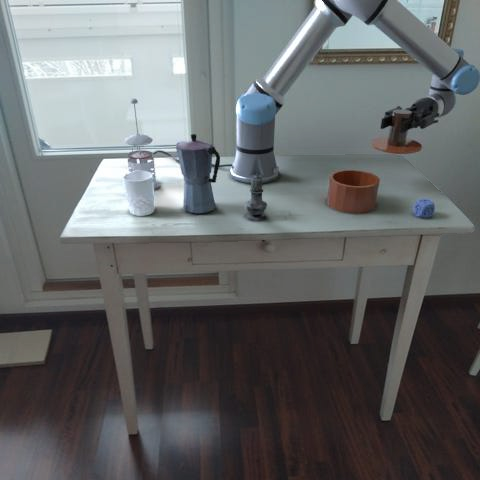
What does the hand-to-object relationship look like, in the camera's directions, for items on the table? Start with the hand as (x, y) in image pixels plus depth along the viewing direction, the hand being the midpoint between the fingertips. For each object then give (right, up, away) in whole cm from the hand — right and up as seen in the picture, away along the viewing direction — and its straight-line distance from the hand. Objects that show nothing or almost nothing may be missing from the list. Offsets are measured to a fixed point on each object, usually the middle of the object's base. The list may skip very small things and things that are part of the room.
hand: (392, 125), depth 135 cm
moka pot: (-54, -23, +1) cm, 58 cm away
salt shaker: (-38, -26, -3) cm, 47 cm away
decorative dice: (+8, -26, -2) cm, 27 cm away
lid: (+3, -3, +7) cm, 9 cm away
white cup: (-70, -24, -1) cm, 74 cm away
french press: (-73, -13, +15) cm, 75 cm away
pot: (-11, -21, +4) cm, 24 cm away
